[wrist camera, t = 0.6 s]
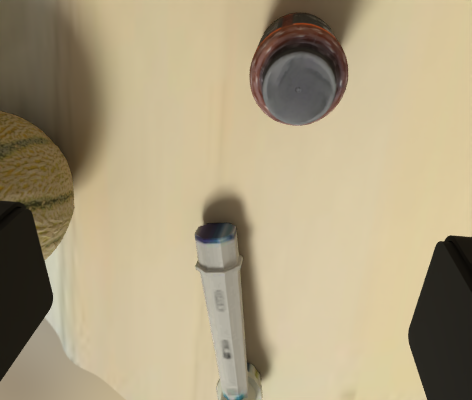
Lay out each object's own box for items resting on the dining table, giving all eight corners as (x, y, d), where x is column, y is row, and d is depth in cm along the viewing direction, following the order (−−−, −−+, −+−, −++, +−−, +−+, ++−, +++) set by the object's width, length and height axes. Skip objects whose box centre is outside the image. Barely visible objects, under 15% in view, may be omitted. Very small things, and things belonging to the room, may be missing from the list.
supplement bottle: (252, 84, 34) (233, 131, 24) (266, 4, 31) (251, 20, 21) (325, 98, 33) (336, 151, 24) (346, 19, 30) (369, 42, 21)
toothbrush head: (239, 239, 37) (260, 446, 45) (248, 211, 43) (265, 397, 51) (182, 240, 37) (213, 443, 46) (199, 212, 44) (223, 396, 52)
